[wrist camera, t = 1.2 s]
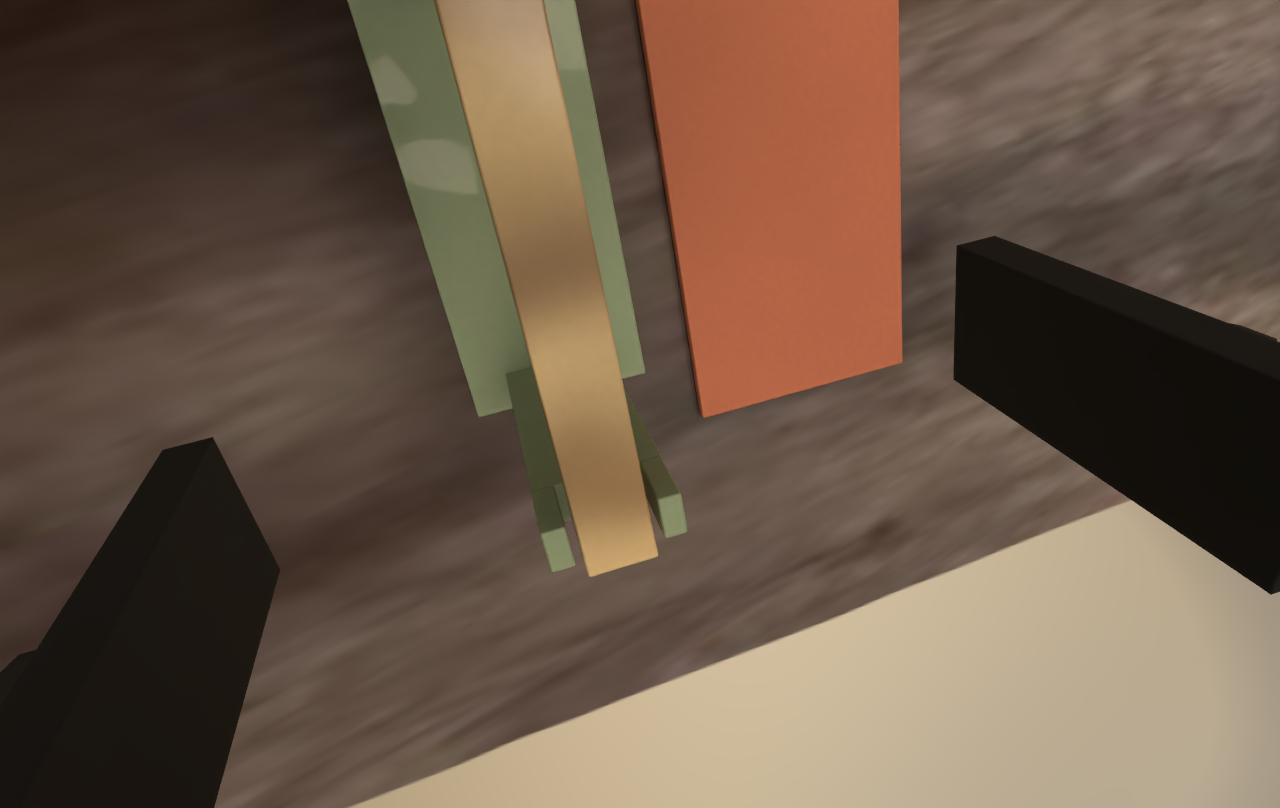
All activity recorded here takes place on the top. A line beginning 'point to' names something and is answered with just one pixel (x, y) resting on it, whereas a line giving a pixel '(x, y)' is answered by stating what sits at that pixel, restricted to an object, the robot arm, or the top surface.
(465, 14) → the hanger bar
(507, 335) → the rack
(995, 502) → the top surface
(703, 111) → the mat
